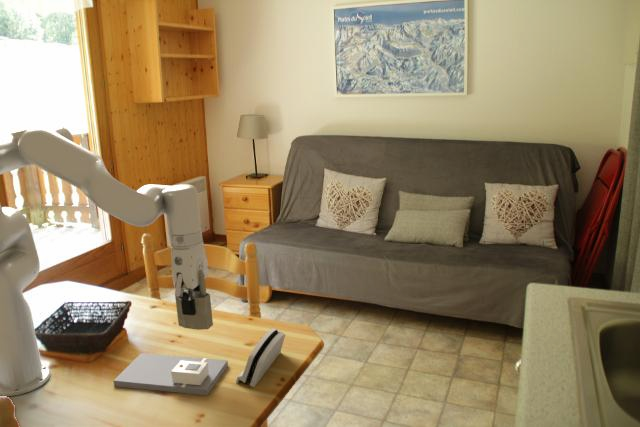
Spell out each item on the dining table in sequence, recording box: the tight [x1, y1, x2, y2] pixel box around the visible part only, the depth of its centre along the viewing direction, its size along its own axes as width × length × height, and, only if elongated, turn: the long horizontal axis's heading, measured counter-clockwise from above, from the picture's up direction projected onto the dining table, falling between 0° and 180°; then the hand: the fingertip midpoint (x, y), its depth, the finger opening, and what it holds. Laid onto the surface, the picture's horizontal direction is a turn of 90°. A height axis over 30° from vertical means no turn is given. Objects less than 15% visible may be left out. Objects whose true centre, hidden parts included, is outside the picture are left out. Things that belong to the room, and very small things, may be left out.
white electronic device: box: [171, 360, 209, 385], centre depth 131 cm, size 7×5×3 cm
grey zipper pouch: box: [235, 328, 286, 387], centre depth 137 cm, size 17×5×10 cm, turn 162°
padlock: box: [174, 270, 214, 331], centre depth 133 cm, size 4×8×15 cm, turn 71°
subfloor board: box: [113, 352, 229, 396], centre depth 136 cm, size 24×13×2 cm, turn 78°
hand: (193, 309), depth 133 cm, fingers closed on padlock, 4 cm apart
